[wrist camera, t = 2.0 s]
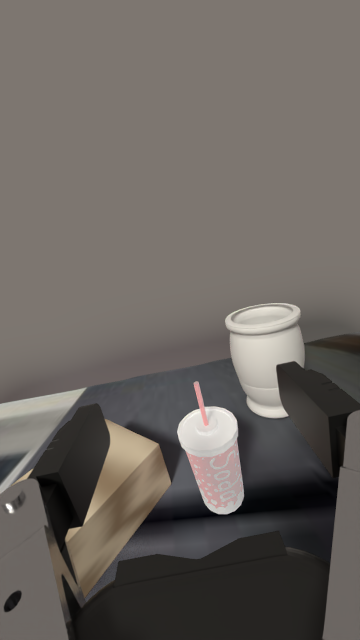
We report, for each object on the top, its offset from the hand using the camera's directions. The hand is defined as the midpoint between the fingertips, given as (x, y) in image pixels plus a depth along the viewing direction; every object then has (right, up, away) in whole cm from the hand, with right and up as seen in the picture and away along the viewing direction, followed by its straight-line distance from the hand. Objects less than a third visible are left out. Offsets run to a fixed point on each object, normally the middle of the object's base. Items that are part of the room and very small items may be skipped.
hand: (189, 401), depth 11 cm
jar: (+15, -10, +28) cm, 33 cm away
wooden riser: (-10, -18, +18) cm, 27 cm away
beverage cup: (+4, -16, +16) cm, 23 cm away
